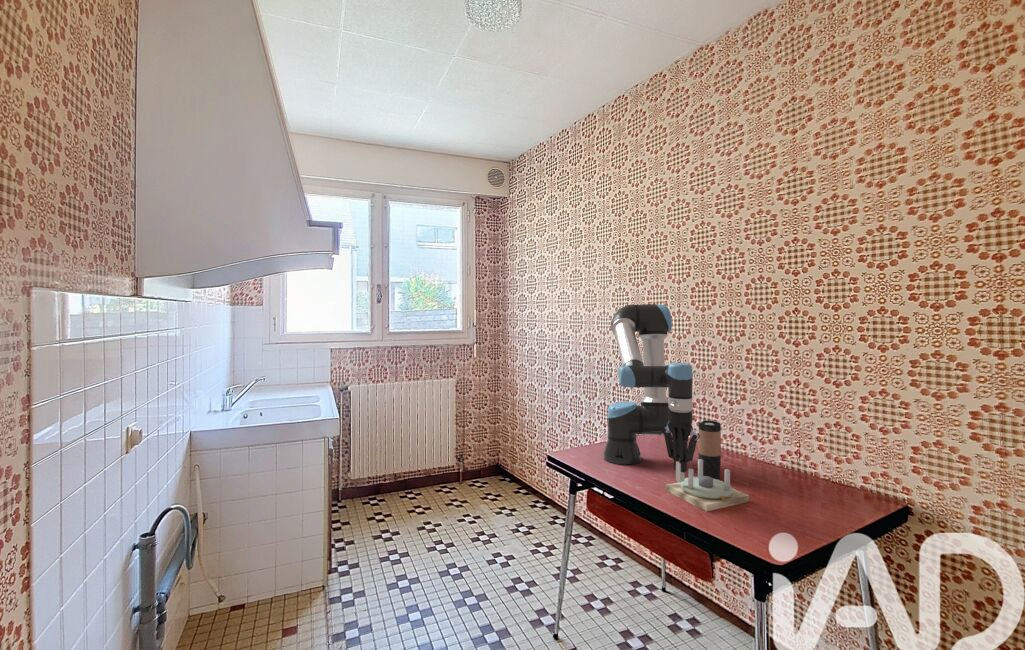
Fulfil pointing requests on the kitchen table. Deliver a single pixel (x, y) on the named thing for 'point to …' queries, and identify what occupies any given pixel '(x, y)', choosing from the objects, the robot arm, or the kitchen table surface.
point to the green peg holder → (706, 484)
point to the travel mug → (710, 448)
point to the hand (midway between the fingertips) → (680, 480)
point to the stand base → (707, 503)
